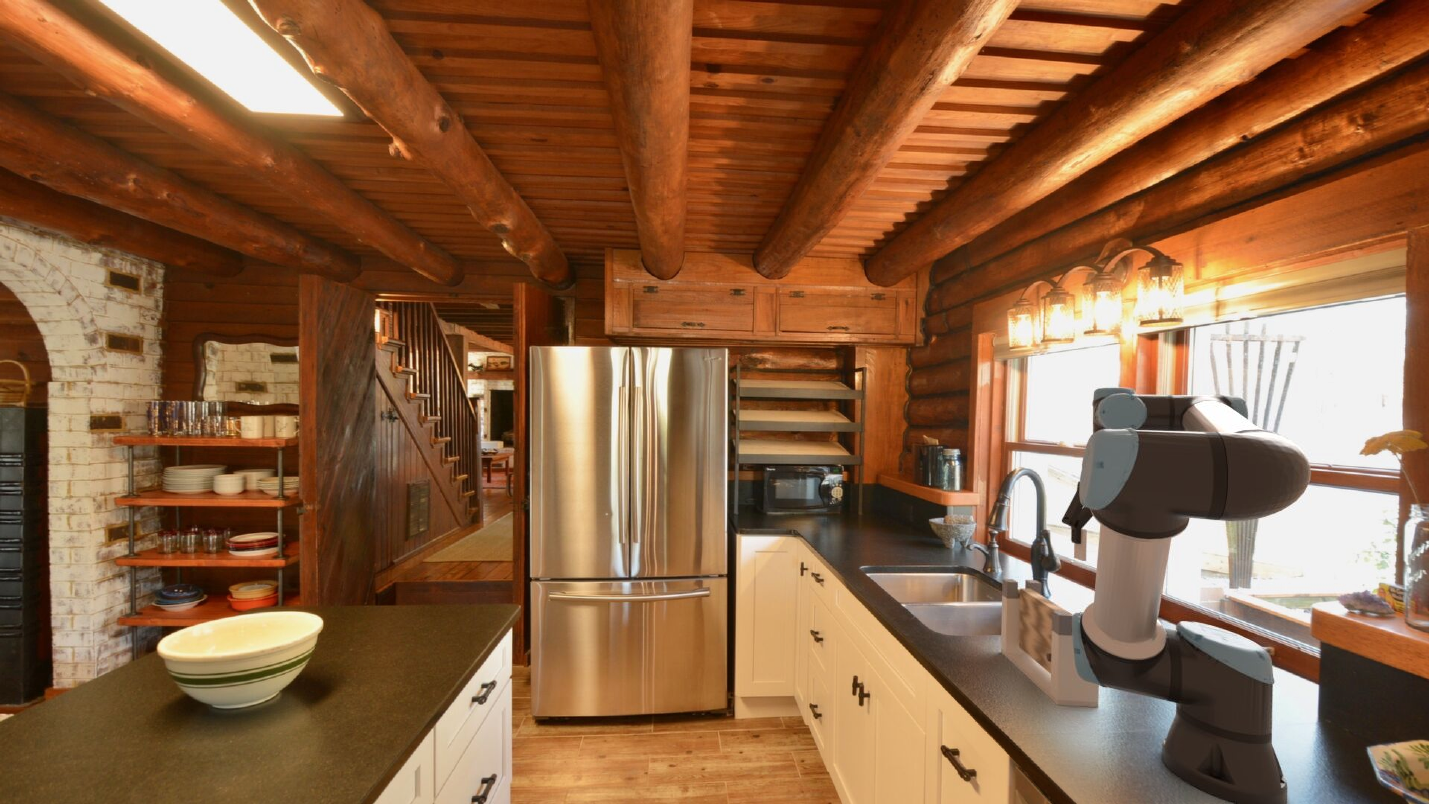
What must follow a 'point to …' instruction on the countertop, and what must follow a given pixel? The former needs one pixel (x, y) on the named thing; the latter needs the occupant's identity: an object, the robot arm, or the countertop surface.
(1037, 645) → the oak door
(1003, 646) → the cabinet frame
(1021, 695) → the countertop surface
